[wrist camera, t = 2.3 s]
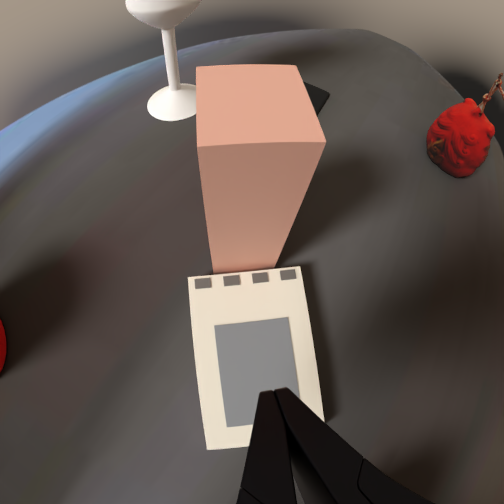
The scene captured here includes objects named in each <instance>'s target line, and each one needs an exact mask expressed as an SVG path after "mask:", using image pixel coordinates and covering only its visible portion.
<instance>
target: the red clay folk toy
mask: <svg viewBox="0 0 504 504" xmlns="http://www.w3.org/2000/svg"><path fill="white" fill-rule="evenodd" d="M501 76H503V73H500V74H499V77H498V79H497V80H496V81H495V82H494V84H493V86H492V88H491V90H490V92H489V94H485V95H484V96H483V102H482V103H481V104H479V105H478V106H477V105H476V103H475V101H474V100H472V99H470V98H467V99H465V100H464V102H462V103H459V104H456V105H454V106H452V107H450V108H448V109H447V110H445V111H444V112H443V113H442V114H441V115H440V116H439V117H438V118H437V119H436V120H435V121H434V123H433V124H432V125H431V127H430V128H429V130H428V134H427V153H428V155H429V157H430V159H431V160H432V161H433V162H434V163H435V164H437V165H438V166H439V167H440V169H442V170H443V171H445V172H446V173H447V174H450V175H452V176H454V177H456V178H458V177H466V176H469V175H471V174H472V173H473V172H474V171H475V169H476V168H477V167H479V166H480V165H481V164H482V163H483V162H484V161H485V159H486V157H487V156H488V151H489V148H490V141H491V139H492V137H493V135H494V134H495V129H494V126H493V125H492V124H491V123H490V122H489V121H488V119H487V118H486V116H485V115H484V114H483V110H484V107H485V104H486V102H488V101H489V100H490V99H491V96H492V94H493V93H494V92H495V91H496V90H497V89H498V90H499V92H500V93H501V95H502V98H503V100H504V91H503V90H502V88H501V84H502V81H501Z"/></svg>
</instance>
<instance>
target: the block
mask: <svg viewBox="0 0 504 504" xmlns="http://www.w3.org/2000/svg"><path fill="white" fill-rule="evenodd" d="M196 120H197V150H198V159H199V167H200V176H201V184H202V192H203V200H204V208H205V216H206V223H207V230H208V237H209V245H210V252H211V258H212V265H213V272H214V275H215V274H226V273H236V272H246V271H256V270H266V269H274V267H275V265H276V262H277V260H278V258H279V255H280V253H281V251H282V248H283V246H284V244H285V241H286V239H287V237H288V234H289V232H290V229H291V227H292V225H293V222H294V220H295V218H296V215H297V213H298V210H299V208H300V206H301V203H302V201H303V198H304V196H305V194H306V191H307V189H308V186H309V184H310V181H311V179H312V176H313V174H314V172H315V169H316V167H317V164H318V162H319V159H320V157H321V154H322V152H323V149H324V147H325V144H326V140H325V137H324V134H323V131H322V129H321V126H320V123H319V121H318V118H317V116H316V113H315V110H314V108H313V105H312V103H311V100H310V98H309V95H308V93H307V90H306V88H305V86H304V83H303V81H302V78H301V76H300V74H299V71H298V69H297V67H296V65H271V64H245V65H218V66H203V67H196Z"/></svg>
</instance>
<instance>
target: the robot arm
mask: <svg viewBox="0 0 504 504" xmlns="http://www.w3.org/2000/svg"><path fill="white" fill-rule="evenodd" d="M293 476H294V478H295V481H296V483H297V486H298V488H299V490H300V493H301V495H302V498H303V500H304V502H305V504H435V503H433V502H431V501H429V500H427V499H425V498H423V497H421V496H420V495H418V494H416V493H414V492H412V491H411V490H409V489H407V488H406V487H404V486H402V485H400V484H399V483H397V482H396V481H394V480H393V479H391V478H390V477H388V476H387V475H385V474H384V473H383V472H381V471H380V470H379V469H377V468H376V467H375V466H374V465H372V464H371V463H370V462H369V461H368V460H367V459H365V458H364V459H363V456H362V455H361V454H359V453H358V452H357V451H356V450H355V449H354V448H353V447H351V446H350V445H349V444H348V443H347V442H346V441H345V440H344V439H342V438H341V437H340V436H339V435H338V434H337V433H336V432H335V431H334V430H332V429H331V428H330V427H329V426H328V425H327V424H326V423H325V422H324V421H323V420H322V419H321V418H319V417H318V416H317V415H316V414H315V413H314V412H313V411H312V410H311V409H310V408H309V407H308V406H307V405H306V404H305V403H304V402H303V401H302V400H300V399H299V398H298V397H297V396H296V395H295V394H294V393H293V392H292V391H291V390H290V389H289V388H288V387H282V388H277V389H275V390H274V391H273V390H266V391H261V392H260V393H259V397H258V402H257V407H256V412H255V418H254V423H253V428H252V433H251V438H250V443H249V448H248V453H247V458H246V462H245V467H244V472H243V477H242V481H241V486H240V487H241V488H240V490H239V494H238V499H237V503H236V504H297V500H296V493H295V486H294V480H293Z"/></svg>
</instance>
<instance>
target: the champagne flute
mask: <svg viewBox="0 0 504 504" xmlns="http://www.w3.org/2000/svg"><path fill="white" fill-rule="evenodd" d="M200 2H201V0H126V7H127V9H128V11H129V12H130V13H131V14H132V15H133V16H134V17H136V18H137V19H138V20H140V21H142V22H144V23H146V24H148V25H150V26H153V27H155V28H159V29H162V37H163V46H164V53H165V60H166V68H167V75H168V81H169V86H167V87H164V88H162V89H160V90H159V91H157V92H156V93H155V94H153V96H152V97H151V98H150V99H149V101H148V105H147V108H148V111H149V113H150V114H151V115H152V116H153V117H155V118H157V119H160V120H165V121H176V120H182V119H185V118H188V117H191V116H193V115H195V114H196V86H195V85H191V84H180V79H179V70H178V61H177V51H176V41H175V30H174V27H175V26H176V25H178V24H180V23H181V22H182V21H183V20H184V19H185V18H187V17H188V16H189V15H190V14H191V13H192V12H193V11H194V10H195V9H196V8H197V6H198V5H199V4H200Z"/></svg>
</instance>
